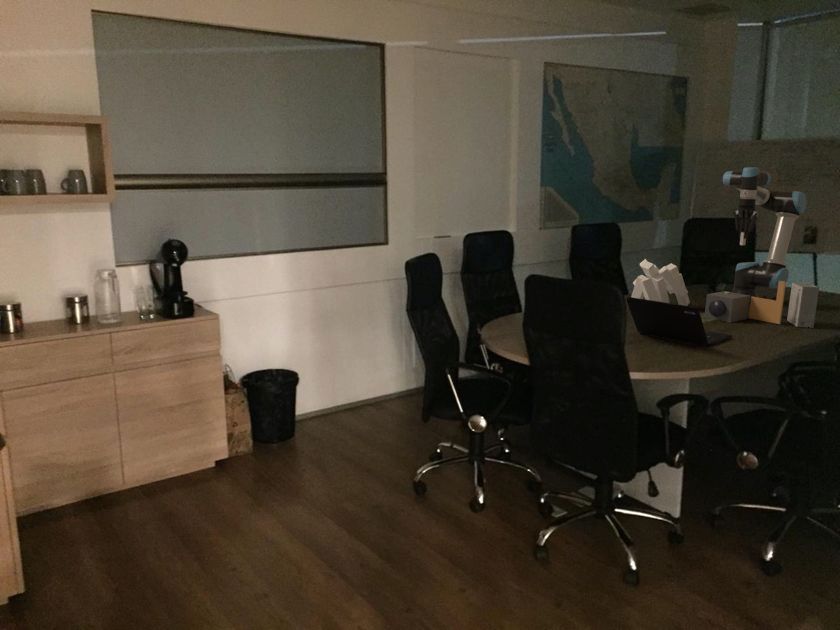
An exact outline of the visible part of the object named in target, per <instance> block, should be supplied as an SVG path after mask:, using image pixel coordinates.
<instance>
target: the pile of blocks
mask: <svg viewBox="0 0 840 630" xmlns="http://www.w3.org/2000/svg"><path fill="white" fill-rule="evenodd" d="M639 267H640V268H641V269H642V271H643V273H644V275H643V274H640V275H638V276H637V278H635V279H634V281H633V282H632V284H633V285H634V287H633V290H632V293H631V296H630V297H633V298H639V299H646V300H653V301H659V302H665V303H671V301H670V297H669V295H672V294H675V297H676V300H677V304H679V305H685V306H689V304H690V303H691V302H690V297H689V295H688V293H689V291H688V290H687V287H686V284H685V281H684V278H683V275H682V274H683V273H680V272H679V268H678V266H677V265H675V264H673V263H669V264H667V265H666V266H665V265H664V266H663V267H662V268H659V267H658V266H656V264H654V263H652V262H649V261H648V259H646V258H644V259H643V260H642V261H641V262H640V263H639ZM668 293H669V294H668Z"/></svg>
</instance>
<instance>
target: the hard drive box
mask: <svg viewBox="0 0 840 630" xmlns="http://www.w3.org/2000/svg"><path fill="white" fill-rule="evenodd" d="M819 292H820V287H819V286H816V285H815V284H811V283H809V282H796V281H794V282H792V283H791V288H790V294H789V295H790V296H789V303H788V311H787V320H786V321H787V322H789V323H790V324H792V325H793V326H794V327H796V328H808V327H809V329H813V328H815V319H816V318H815V317H816V314H817V306H818V298H819Z"/></svg>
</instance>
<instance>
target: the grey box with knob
mask: <svg viewBox="0 0 840 630" xmlns="http://www.w3.org/2000/svg"><path fill="white" fill-rule="evenodd" d="M705 298H706V299H705V307H704V309H705V310H704V318H705V317H709V318H708V319H710V318H713V319H712V320H715V319H716V321H720V320H721V321H722V322H725V321H726V322H727V323H734V322H738V321H739V320H740V321H743V320H748V319H749V310H750V305H749V304H750V295H744V294H738V293H732V291H731V292H730V291H725V290H724V291H720V292H714V293H713V292H711V293H706V297H705ZM721 321H720V322H721ZM740 321H739V322H740Z"/></svg>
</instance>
